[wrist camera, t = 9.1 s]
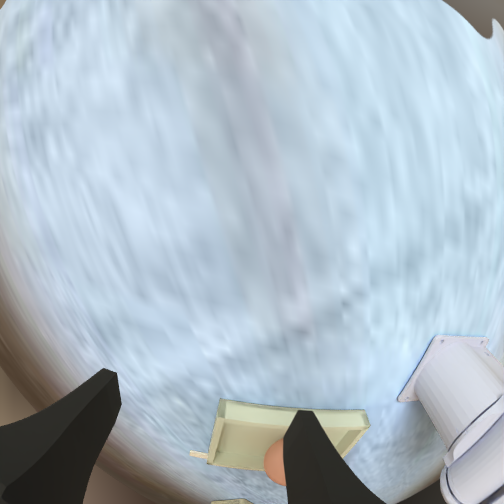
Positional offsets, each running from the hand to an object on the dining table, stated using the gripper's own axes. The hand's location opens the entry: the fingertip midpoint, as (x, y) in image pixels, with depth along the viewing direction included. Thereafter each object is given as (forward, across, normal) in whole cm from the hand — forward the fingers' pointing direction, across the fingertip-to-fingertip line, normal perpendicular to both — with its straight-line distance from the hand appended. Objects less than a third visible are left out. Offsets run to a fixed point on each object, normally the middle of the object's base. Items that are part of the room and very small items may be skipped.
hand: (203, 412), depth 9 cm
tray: (+9, -8, +14) cm, 19 cm away
